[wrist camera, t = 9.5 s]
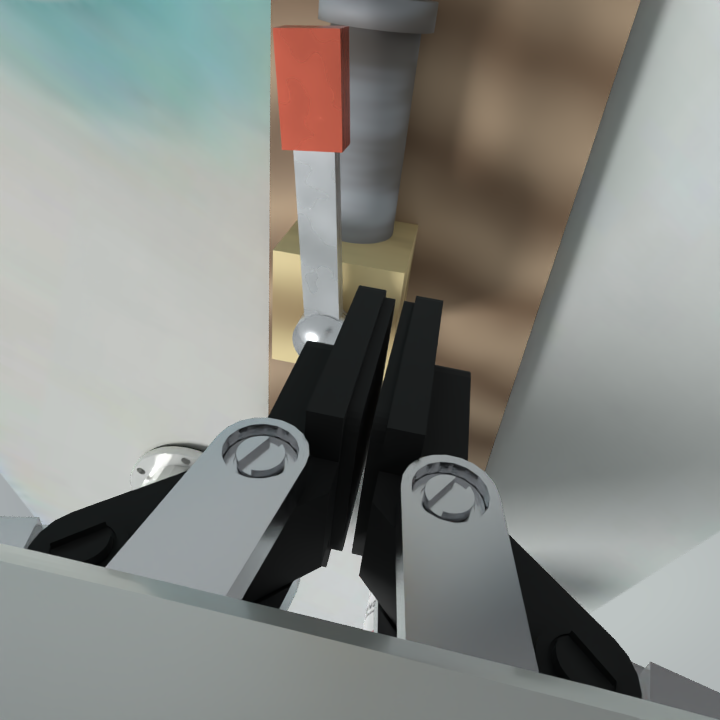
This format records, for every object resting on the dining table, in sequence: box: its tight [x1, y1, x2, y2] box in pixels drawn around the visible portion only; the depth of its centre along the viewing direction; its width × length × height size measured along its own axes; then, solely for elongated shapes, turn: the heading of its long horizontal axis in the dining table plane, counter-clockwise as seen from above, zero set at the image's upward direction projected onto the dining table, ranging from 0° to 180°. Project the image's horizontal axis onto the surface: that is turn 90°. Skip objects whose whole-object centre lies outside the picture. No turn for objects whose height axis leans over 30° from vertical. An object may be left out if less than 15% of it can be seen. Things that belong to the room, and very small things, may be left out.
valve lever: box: [273, 25, 350, 355], centre depth 26 cm, size 16×3×2 cm, turn 0°
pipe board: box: [269, 0, 641, 472], centre depth 33 cm, size 36×18×10 cm, turn 174°
